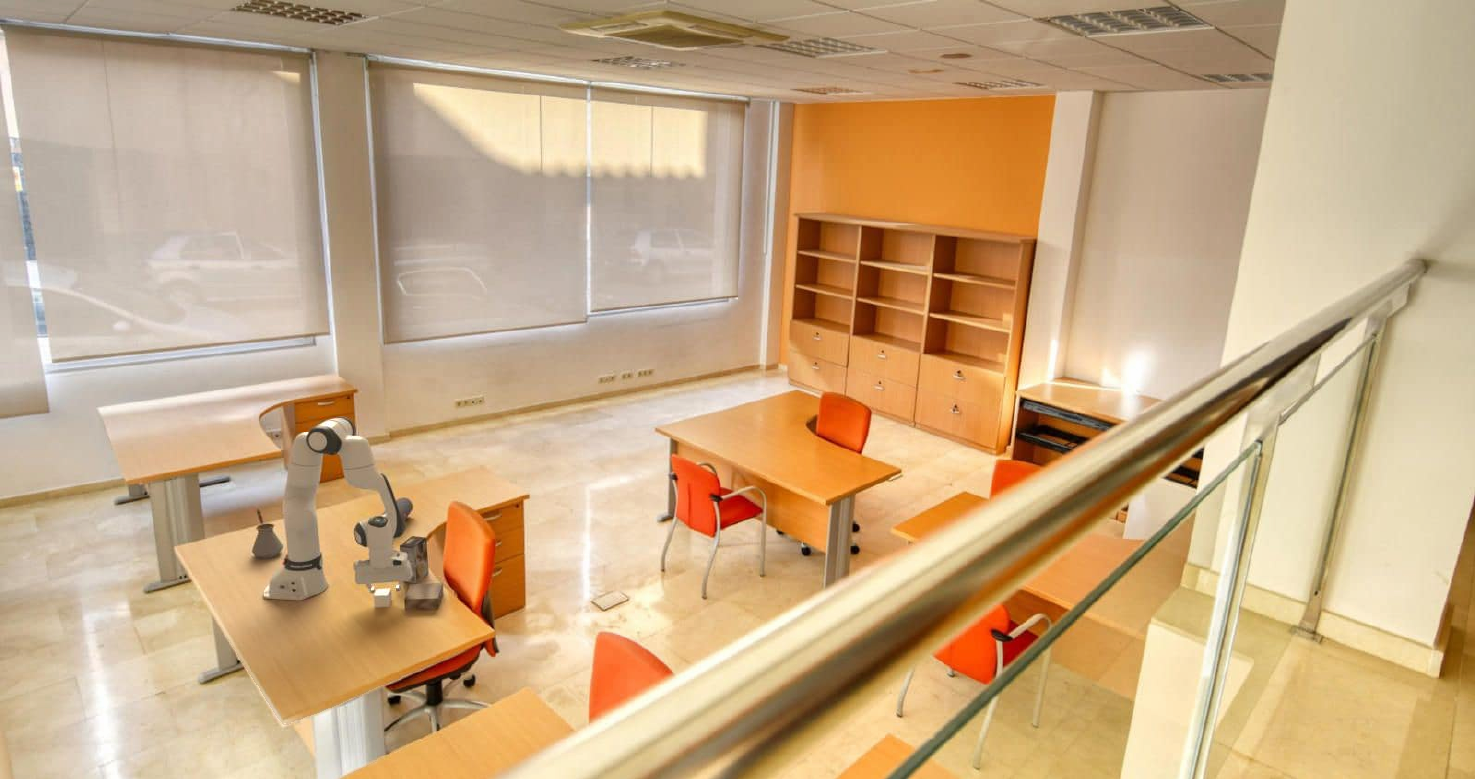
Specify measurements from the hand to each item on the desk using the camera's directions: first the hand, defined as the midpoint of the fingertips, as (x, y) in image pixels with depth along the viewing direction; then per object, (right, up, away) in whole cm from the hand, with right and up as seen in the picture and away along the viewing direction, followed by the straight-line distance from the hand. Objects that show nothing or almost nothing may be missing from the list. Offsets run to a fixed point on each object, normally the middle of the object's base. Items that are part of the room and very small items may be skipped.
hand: (385, 591), depth 331 cm
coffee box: (+4, +1, +21) cm, 21 cm away
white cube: (-1, -5, 0) cm, 5 cm away
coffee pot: (-66, +9, +38) cm, 76 cm away
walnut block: (+14, -5, +3) cm, 15 cm away
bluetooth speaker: (-21, +14, +64) cm, 69 cm away
